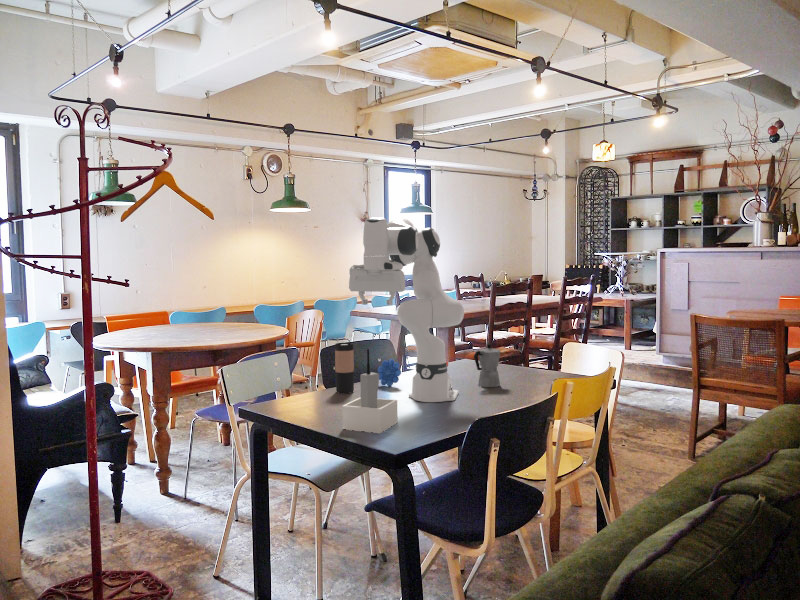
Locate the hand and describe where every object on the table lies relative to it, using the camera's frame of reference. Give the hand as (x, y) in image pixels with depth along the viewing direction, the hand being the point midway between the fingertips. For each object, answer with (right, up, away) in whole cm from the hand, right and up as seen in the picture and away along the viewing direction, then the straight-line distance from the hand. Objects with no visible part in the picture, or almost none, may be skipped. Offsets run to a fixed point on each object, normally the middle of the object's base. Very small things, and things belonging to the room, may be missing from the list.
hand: (377, 304), depth 225 cm
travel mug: (-15, -37, +44) cm, 59 cm away
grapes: (+4, -36, +54) cm, 65 cm away
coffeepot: (+45, -35, +52) cm, 77 cm away
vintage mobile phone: (-2, -39, -11) cm, 41 cm away
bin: (-2, -40, -10) cm, 41 cm away
